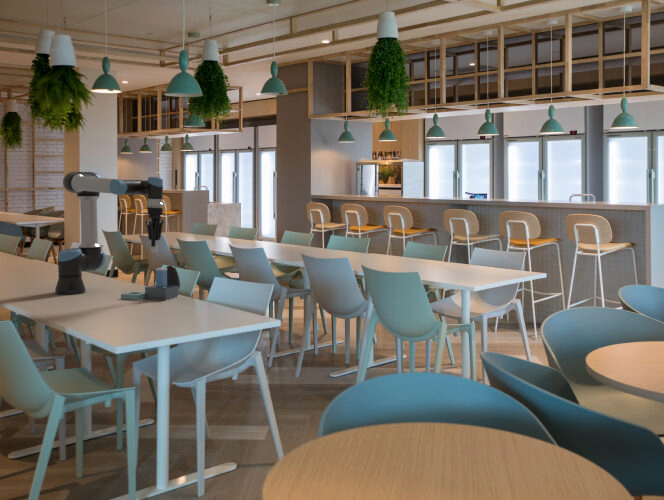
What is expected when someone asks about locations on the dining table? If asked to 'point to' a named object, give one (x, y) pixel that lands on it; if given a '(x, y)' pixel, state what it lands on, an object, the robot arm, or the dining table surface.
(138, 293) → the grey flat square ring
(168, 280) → the black egg shape
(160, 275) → the plug
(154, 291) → the port
